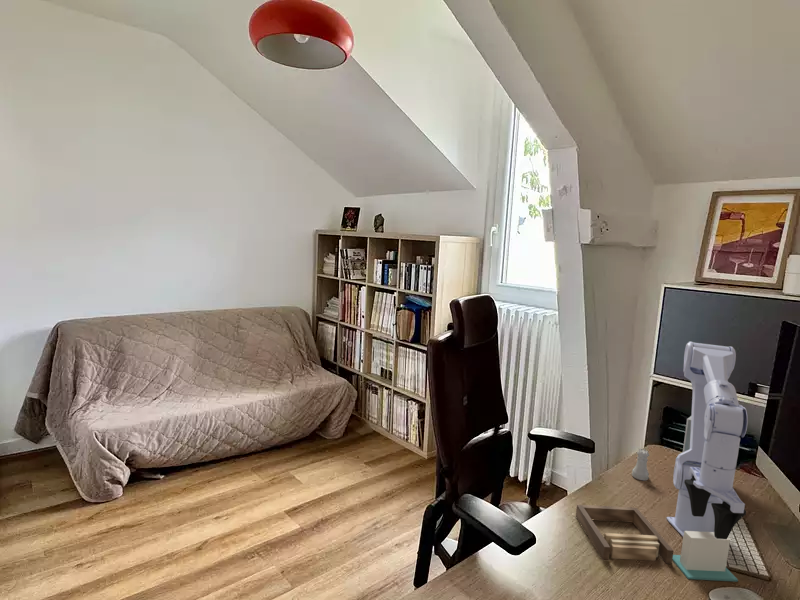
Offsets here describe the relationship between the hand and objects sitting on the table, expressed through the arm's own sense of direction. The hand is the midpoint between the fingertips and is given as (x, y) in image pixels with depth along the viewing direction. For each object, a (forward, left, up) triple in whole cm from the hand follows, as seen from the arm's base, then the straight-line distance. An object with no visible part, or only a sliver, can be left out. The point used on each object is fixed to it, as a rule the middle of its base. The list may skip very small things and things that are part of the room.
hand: (708, 526), depth 101 cm
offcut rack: (+13, -10, -9) cm, 19 cm away
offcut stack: (+13, -4, -9) cm, 16 cm away
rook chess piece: (-6, -39, -10) cm, 41 cm away
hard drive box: (-22, -37, -10) cm, 44 cm away
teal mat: (0, 0, -9) cm, 9 cm away
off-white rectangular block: (0, 0, -9) cm, 9 cm away
